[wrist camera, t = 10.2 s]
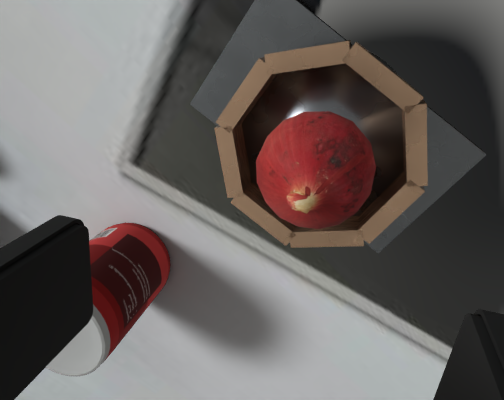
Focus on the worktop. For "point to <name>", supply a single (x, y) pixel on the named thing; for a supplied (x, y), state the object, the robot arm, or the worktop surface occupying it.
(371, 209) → the duct stub
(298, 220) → the red round fruit
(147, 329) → the worktop surface
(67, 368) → the canned food
